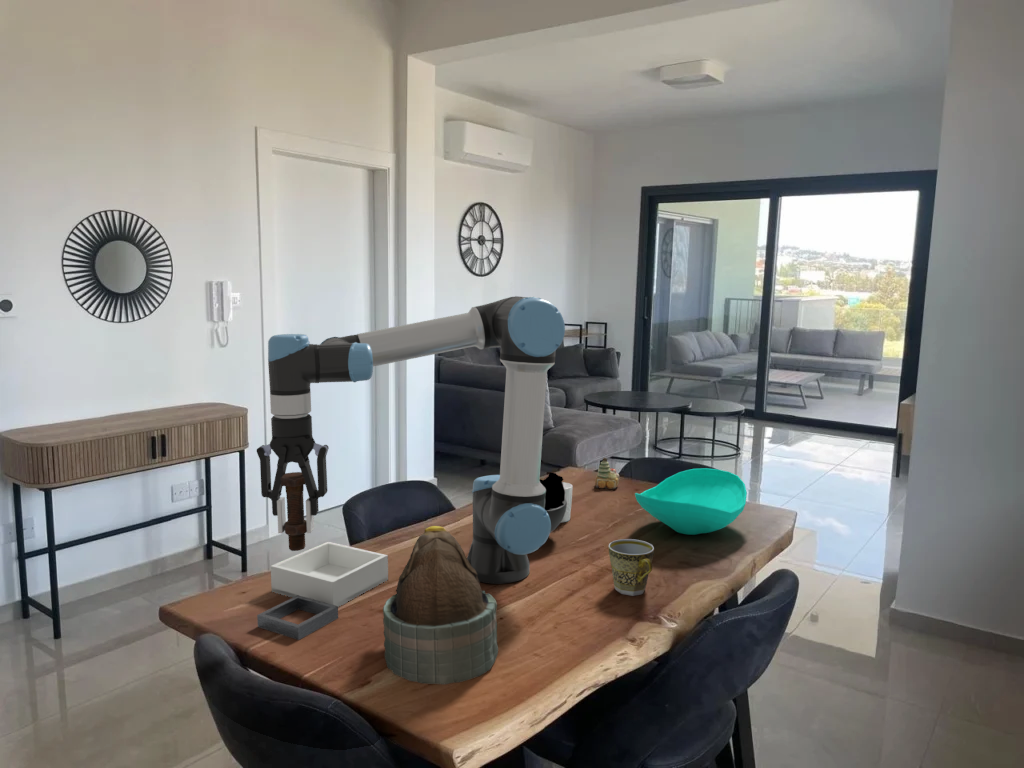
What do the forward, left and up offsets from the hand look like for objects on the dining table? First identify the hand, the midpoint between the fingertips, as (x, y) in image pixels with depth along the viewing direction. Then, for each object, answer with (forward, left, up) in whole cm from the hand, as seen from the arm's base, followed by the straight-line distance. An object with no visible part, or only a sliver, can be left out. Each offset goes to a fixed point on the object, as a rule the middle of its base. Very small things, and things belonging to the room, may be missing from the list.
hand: (296, 530), depth 150 cm
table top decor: (-51, -95, -19) cm, 110 cm away
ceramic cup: (-53, -48, -19) cm, 74 cm away
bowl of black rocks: (-16, -68, -19) cm, 72 cm away
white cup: (-16, -86, -19) cm, 89 cm away
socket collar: (0, 0, -19) cm, 19 cm away
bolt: (0, 0, -4) cm, 4 cm away
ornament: (-15, -125, -19) cm, 127 cm away
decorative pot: (-31, -5, -19) cm, 37 cm away
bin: (+7, -17, -19) cm, 26 cm away
